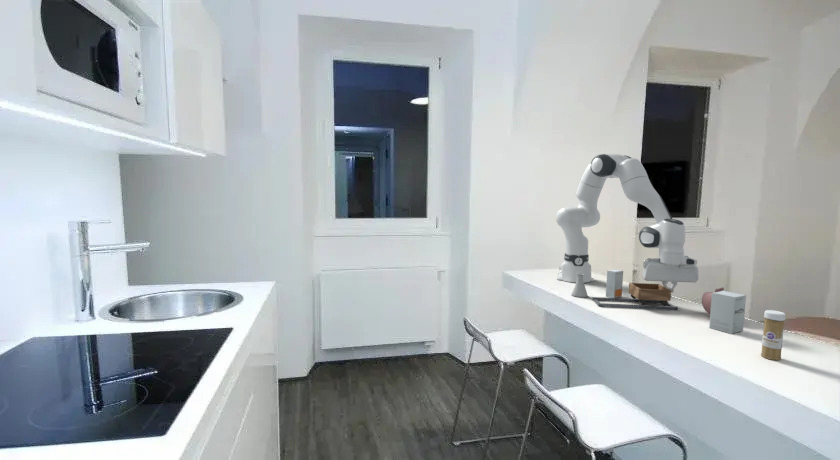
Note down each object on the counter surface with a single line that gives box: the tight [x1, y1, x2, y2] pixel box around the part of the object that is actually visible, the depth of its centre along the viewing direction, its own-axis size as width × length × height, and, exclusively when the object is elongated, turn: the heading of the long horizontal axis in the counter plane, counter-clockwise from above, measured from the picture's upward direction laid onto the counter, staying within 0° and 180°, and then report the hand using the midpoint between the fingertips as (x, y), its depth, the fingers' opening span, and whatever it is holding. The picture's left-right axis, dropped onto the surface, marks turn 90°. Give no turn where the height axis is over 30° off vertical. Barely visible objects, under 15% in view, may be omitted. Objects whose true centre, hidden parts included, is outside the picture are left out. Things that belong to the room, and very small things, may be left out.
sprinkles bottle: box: [760, 309, 786, 361], centre depth 120 cm, size 5×5×14 cm
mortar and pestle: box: [701, 286, 725, 315], centre depth 157 cm, size 12×12×11 cm
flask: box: [571, 273, 589, 298], centre depth 190 cm, size 7×7×10 cm
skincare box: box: [605, 268, 624, 298], centre depth 188 cm, size 6×4×12 cm
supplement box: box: [708, 290, 747, 335], centre depth 144 cm, size 7×7×13 cm
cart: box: [628, 282, 672, 306], centre depth 174 cm, size 12×12×6 cm
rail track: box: [591, 296, 679, 311], centre depth 176 cm, size 11×30×1 cm, turn 81°
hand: (668, 292), depth 173 cm, fingers closed
